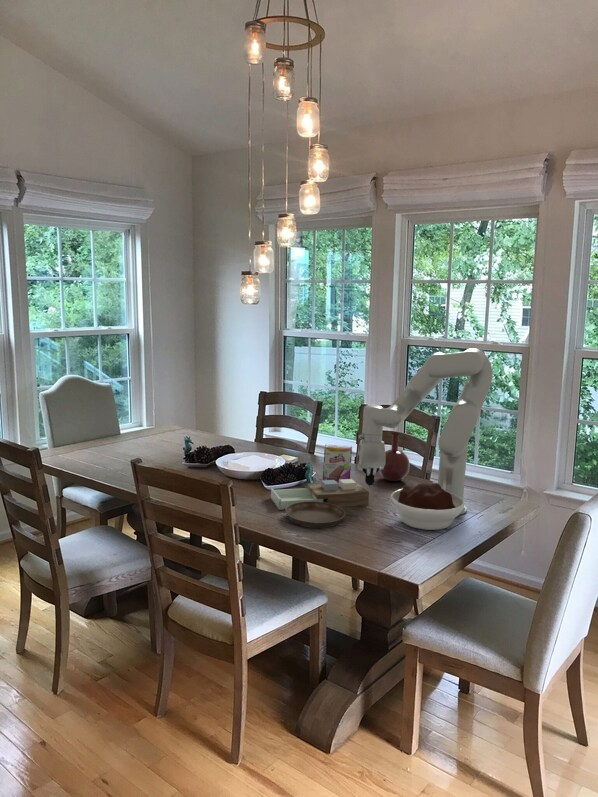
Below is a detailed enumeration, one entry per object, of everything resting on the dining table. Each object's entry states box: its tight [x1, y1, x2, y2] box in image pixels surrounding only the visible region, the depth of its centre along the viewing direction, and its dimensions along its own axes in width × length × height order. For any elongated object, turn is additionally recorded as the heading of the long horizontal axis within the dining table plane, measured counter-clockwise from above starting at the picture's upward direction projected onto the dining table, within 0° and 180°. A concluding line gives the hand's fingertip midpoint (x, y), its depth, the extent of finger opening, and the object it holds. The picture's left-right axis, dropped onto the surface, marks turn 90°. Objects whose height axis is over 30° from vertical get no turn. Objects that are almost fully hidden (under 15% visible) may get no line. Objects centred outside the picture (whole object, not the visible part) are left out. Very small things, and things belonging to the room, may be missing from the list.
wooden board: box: [306, 480, 370, 508], centre depth 256 cm, size 14×20×5 cm
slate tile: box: [321, 479, 338, 491], centre depth 255 cm, size 5×5×2 cm
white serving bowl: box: [389, 482, 465, 531], centre depth 233 cm, size 25×25×15 cm
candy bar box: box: [322, 444, 353, 482], centre depth 274 cm, size 11×5×16 cm, turn 84°
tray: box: [270, 487, 324, 511], centre depth 253 cm, size 13×17×4 cm
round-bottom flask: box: [378, 432, 411, 482], centre depth 284 cm, size 13×13×20 cm
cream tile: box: [339, 478, 357, 490], centre depth 257 cm, size 5×5×2 cm
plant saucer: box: [285, 502, 346, 529], centre depth 236 cm, size 21×21×3 cm
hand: (369, 484), depth 259 cm, fingers closed
